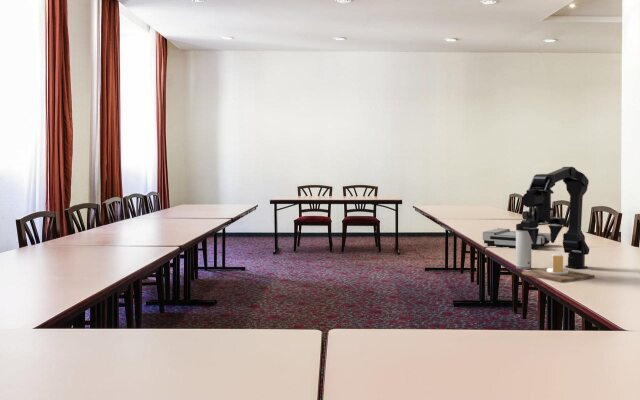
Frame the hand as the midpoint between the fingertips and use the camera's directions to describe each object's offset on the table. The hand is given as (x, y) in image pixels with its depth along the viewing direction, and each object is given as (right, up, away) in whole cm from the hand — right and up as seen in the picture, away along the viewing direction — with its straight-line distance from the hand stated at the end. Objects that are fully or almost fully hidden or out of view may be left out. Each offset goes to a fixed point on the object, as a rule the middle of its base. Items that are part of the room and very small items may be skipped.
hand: (543, 243), depth 228 cm
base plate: (+5, -13, -2) cm, 14 cm away
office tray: (+19, -8, +83) cm, 85 cm away
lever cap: (+5, -12, -2) cm, 13 cm away
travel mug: (-2, -12, +16) cm, 20 cm away
